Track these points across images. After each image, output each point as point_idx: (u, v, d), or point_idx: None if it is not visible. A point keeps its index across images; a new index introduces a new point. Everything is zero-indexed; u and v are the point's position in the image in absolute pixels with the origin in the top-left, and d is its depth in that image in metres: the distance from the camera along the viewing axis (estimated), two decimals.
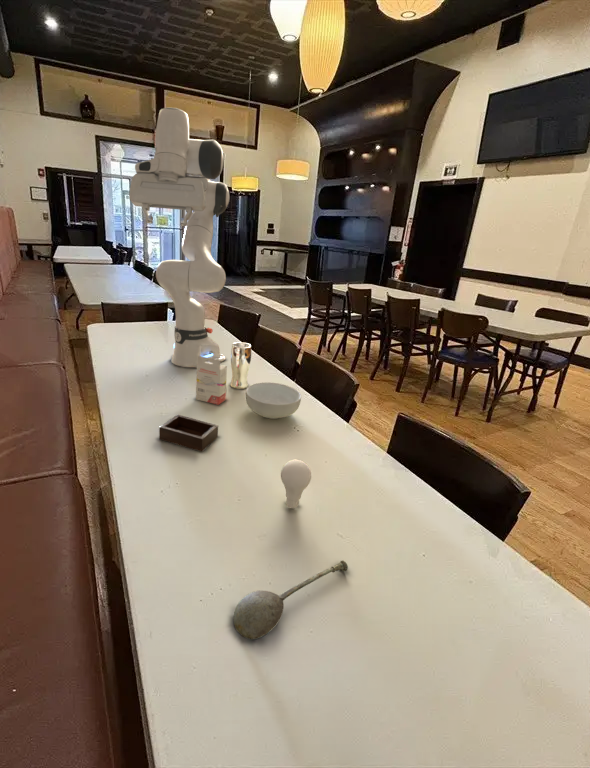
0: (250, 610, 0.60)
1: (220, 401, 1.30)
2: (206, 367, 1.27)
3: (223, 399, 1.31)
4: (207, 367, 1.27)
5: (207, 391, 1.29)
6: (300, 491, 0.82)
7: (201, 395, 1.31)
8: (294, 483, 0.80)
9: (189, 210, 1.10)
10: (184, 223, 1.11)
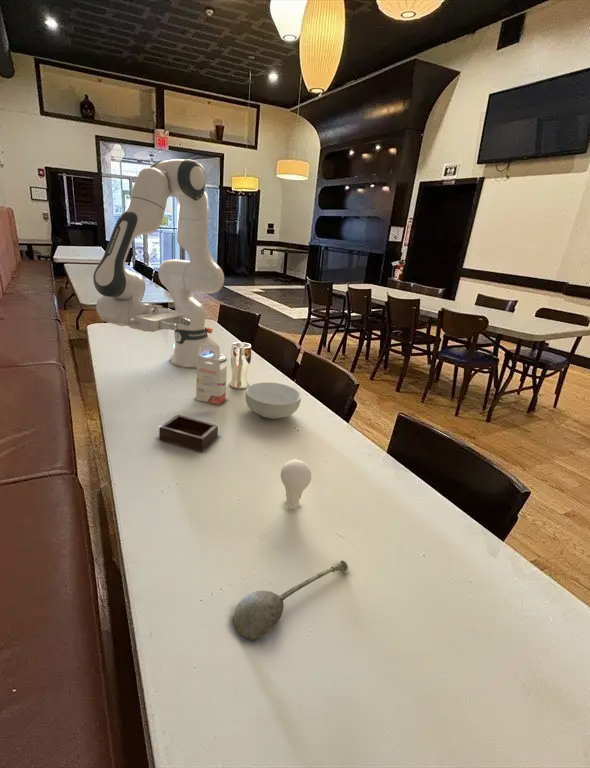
0: (250, 610, 0.60)
1: (220, 401, 1.30)
2: (206, 367, 1.27)
3: (223, 399, 1.31)
4: (207, 367, 1.27)
5: (207, 391, 1.29)
6: (300, 491, 0.82)
7: (201, 395, 1.31)
8: (294, 483, 0.80)
9: None
10: (174, 329, 1.24)
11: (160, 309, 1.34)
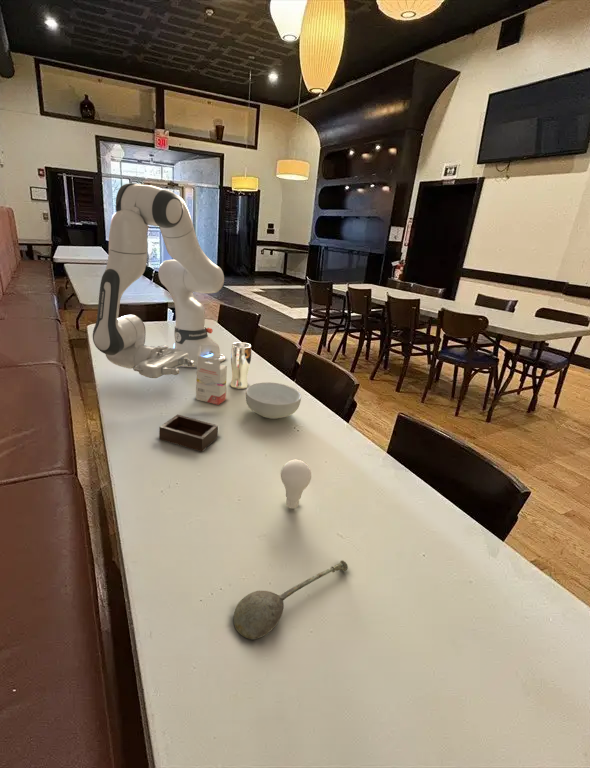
0: (250, 610, 0.60)
1: (220, 401, 1.30)
2: (206, 367, 1.27)
3: (223, 399, 1.31)
4: (207, 367, 1.27)
5: (207, 391, 1.29)
6: (300, 491, 0.82)
7: (201, 395, 1.31)
8: (294, 483, 0.80)
9: None
10: (176, 374, 1.28)
11: (165, 350, 1.39)
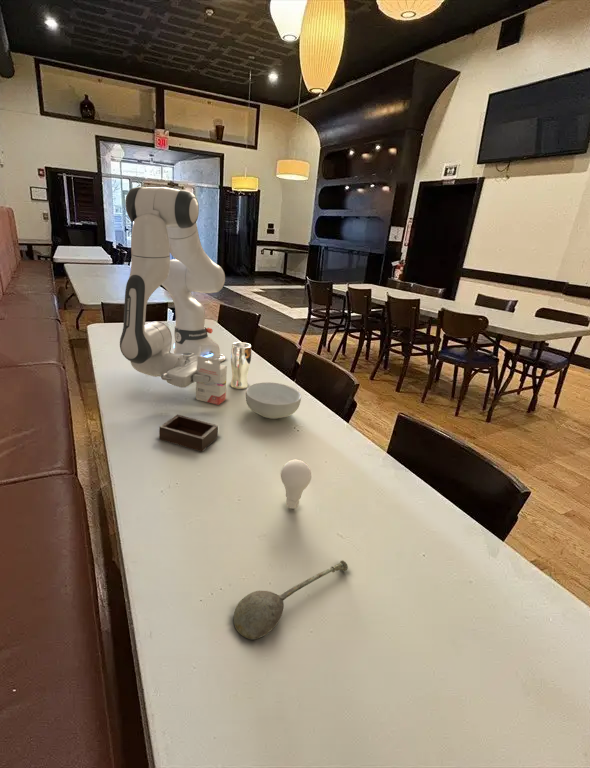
0: (250, 610, 0.60)
1: (220, 401, 1.30)
2: (206, 367, 1.27)
3: (223, 399, 1.31)
4: (207, 367, 1.27)
5: (207, 391, 1.29)
6: (300, 491, 0.82)
7: (201, 395, 1.31)
8: (294, 483, 0.80)
9: None
10: (207, 381, 1.27)
11: (192, 358, 1.36)
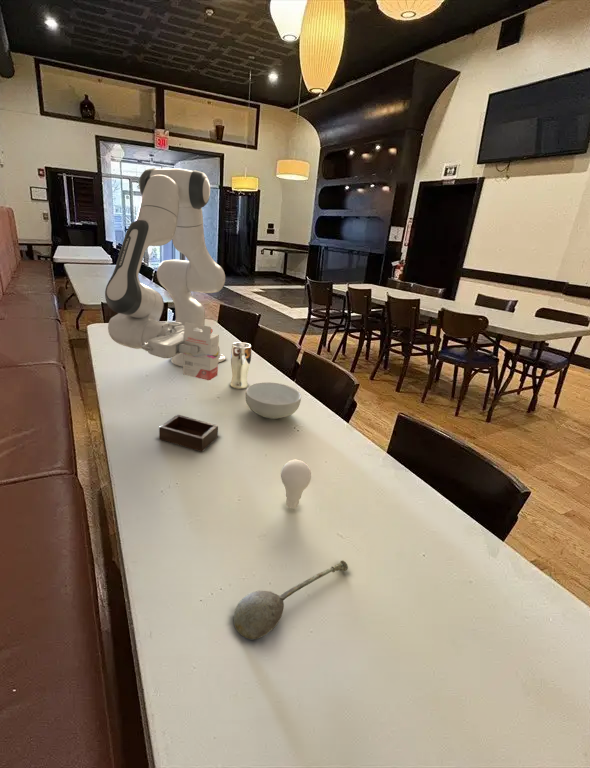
0: (250, 611, 0.60)
1: (211, 376, 1.11)
2: (194, 335, 1.08)
3: (214, 374, 1.13)
4: (195, 336, 1.08)
5: (195, 364, 1.10)
6: (300, 491, 0.82)
7: (189, 369, 1.12)
8: (294, 483, 0.80)
9: None
10: (196, 352, 1.08)
11: (178, 327, 1.17)
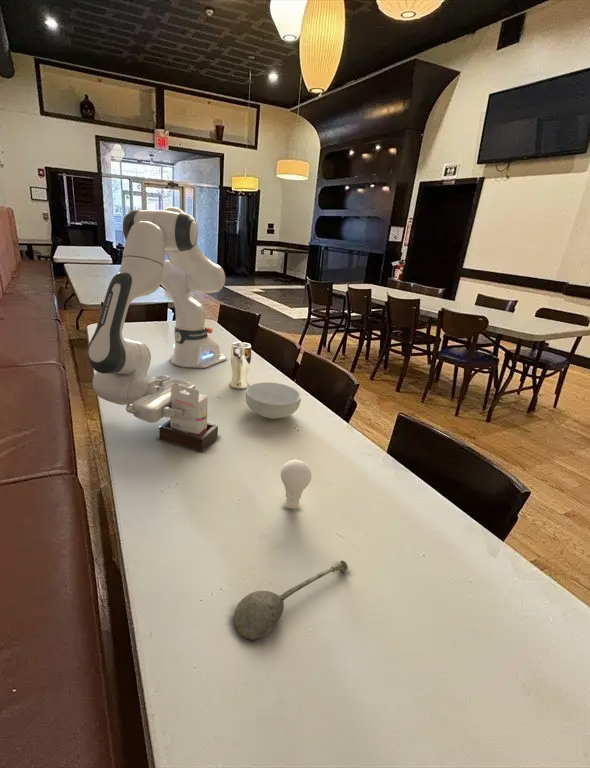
0: (250, 611, 0.60)
1: None
2: (182, 398, 1.03)
3: None
4: (183, 398, 1.02)
5: (183, 427, 1.05)
6: (300, 491, 0.82)
7: None
8: (294, 483, 0.80)
9: None
10: (180, 416, 1.01)
11: (166, 383, 1.12)
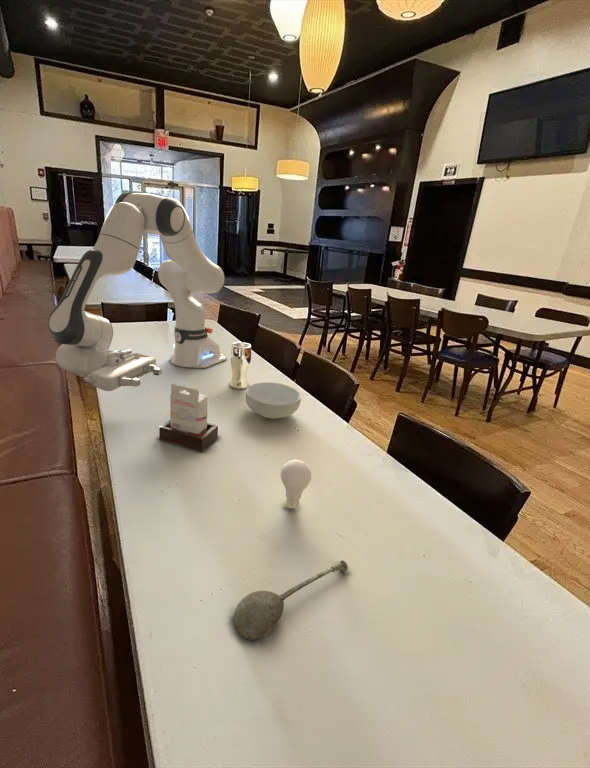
0: (250, 611, 0.60)
1: None
2: (182, 398, 1.03)
3: None
4: (183, 398, 1.02)
5: (183, 427, 1.05)
6: (300, 491, 0.82)
7: None
8: (294, 483, 0.80)
9: None
10: (136, 386, 1.05)
11: (127, 356, 1.16)
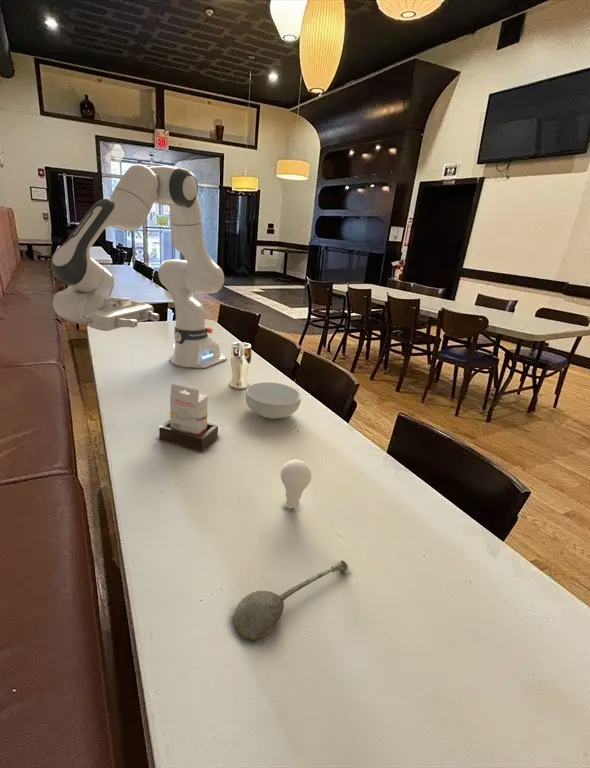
0: (250, 611, 0.60)
1: None
2: (182, 398, 1.03)
3: None
4: (183, 398, 1.02)
5: (183, 427, 1.05)
6: (300, 491, 0.82)
7: None
8: (294, 483, 0.80)
9: None
10: (133, 327, 1.04)
11: (124, 302, 1.15)
